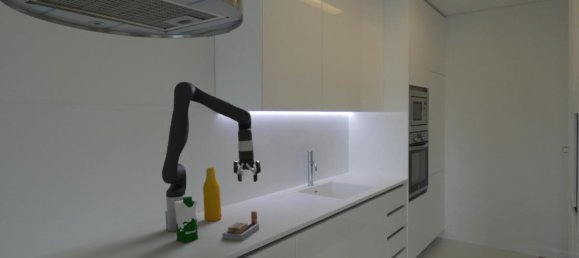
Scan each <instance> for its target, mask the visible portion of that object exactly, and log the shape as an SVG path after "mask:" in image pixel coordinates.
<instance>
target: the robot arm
mask: <svg viewBox="0 0 579 258" xmlns="http://www.w3.org/2000/svg"><path fill="white" fill-rule="evenodd" d="M191 102H195V103H197V104H200V105H203V106H205V108H208V109H209V110H210V111H213V112H214V113H217V114H219V115H221V116H223V117H226V118H229V119H231V120H233V121H234V122H236V123H237V126H238V130H237V139H238V140H237V141H238V144H237V149H238V150H237V151H238V152H237V153H238V160H235V161H233V173H234V174H236V175H237V176H236V177H237V181H238V182H239V183H240V182H242V181H243V178H242V176H243V175H242V174H243V171H245V170H247V171H250V172H251V173H252V174H253V175H252V177H253V183H257V181H258V179H259V178H258V174H260V173H262V169H261V161H260V160H254V157H255V156H254V141H253V132H252V114H251V112H250V111H248V110H246V109H244V108H241V107H239V106H236V105H234V104H232V103H231V102H229V101H226V100H223V99H221V98H219V97H216V96H214V95H211V94H210V93H207V92H205V91H203V90H202V89H200V88H199V87H197V86H195V85H194V84H193V83H192V82H189V81H180V82H178V83H177V84H176V85H175V87H174V90H173V108H172V114H171V121H170V126H169V133H168V141H167V146H166V153H165V159H164V163H163V166H162V170H161V178H162V181H163V182H164V183H165V184H167V185H168V184H169V187H168V188H167V190H166V192H165V196H166V200H165V201H166V211H165V228H166V231H168V232H173V233H174V232H175V233H177V228H176V211H175V205H174V202H176V201H181V200H183V198H184V197H186V191H187V170H186V168H185V166H184V165H183V164H182V163H179V161H180V156H181V154H182V152H183V150H184V149H185V147H186V145H187V143H188V139H189V133H190V119H189V118H190V117H189V109H190V105H191Z"/></svg>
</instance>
